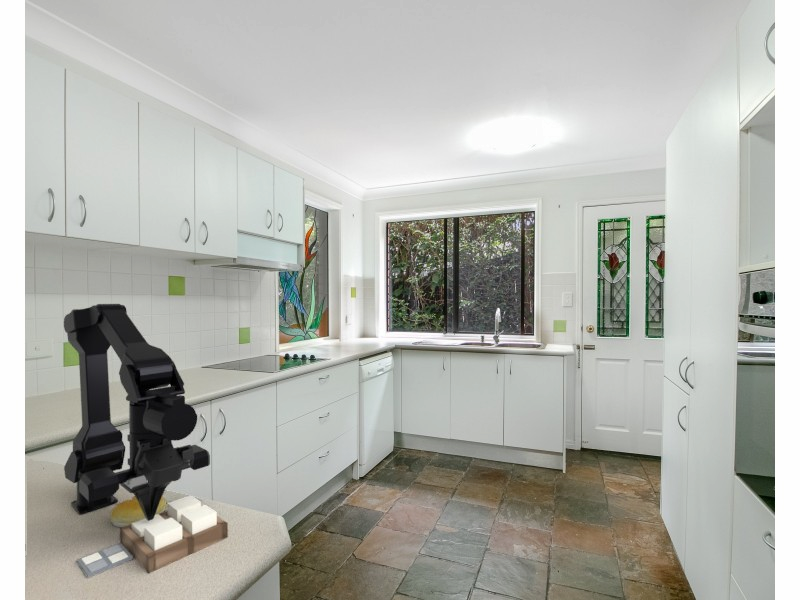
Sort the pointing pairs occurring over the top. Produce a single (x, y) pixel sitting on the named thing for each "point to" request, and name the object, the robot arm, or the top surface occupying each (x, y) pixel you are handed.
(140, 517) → the bread roll
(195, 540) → the brown flat square grid
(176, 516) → the button
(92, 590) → the top surface
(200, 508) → the button
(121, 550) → the pattern card
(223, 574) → the top surface
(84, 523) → the top surface
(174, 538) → the button
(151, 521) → the button
